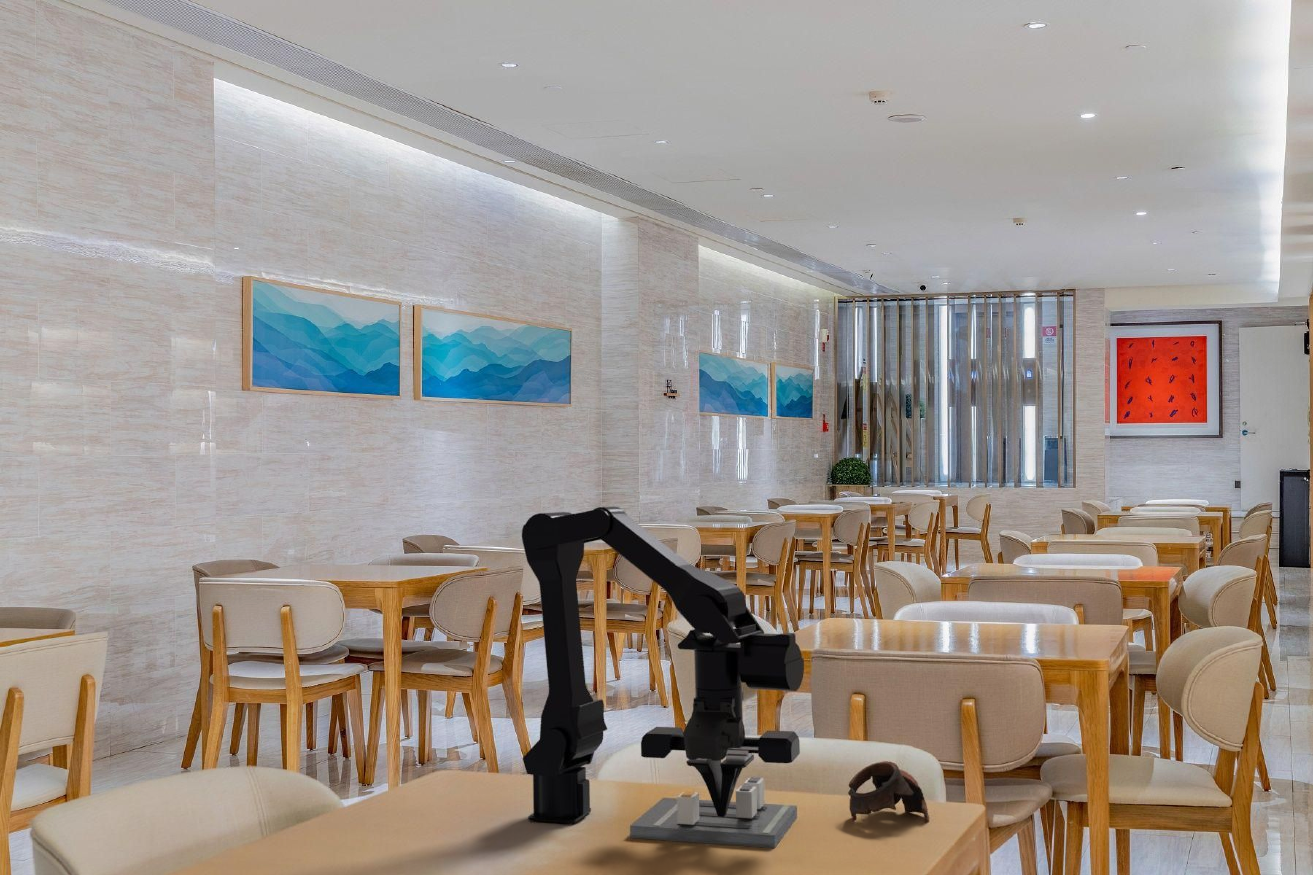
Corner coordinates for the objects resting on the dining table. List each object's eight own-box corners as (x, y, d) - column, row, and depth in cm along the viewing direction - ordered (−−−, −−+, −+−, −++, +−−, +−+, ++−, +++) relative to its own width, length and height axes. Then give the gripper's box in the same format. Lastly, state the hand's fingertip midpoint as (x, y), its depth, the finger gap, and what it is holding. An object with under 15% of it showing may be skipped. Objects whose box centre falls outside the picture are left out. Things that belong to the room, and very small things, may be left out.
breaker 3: (736, 817, 156) (735, 789, 156) (741, 811, 159) (740, 784, 159) (752, 818, 155) (751, 790, 155) (756, 812, 158) (756, 785, 158)
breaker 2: (744, 807, 160) (744, 781, 160) (749, 802, 163) (749, 776, 163) (759, 808, 160) (759, 781, 160) (764, 803, 162) (764, 776, 162)
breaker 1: (677, 823, 154) (677, 795, 154) (683, 817, 156) (683, 789, 156) (693, 824, 153) (692, 796, 153) (699, 818, 156) (698, 790, 156)
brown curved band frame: (940, 833, 156) (911, 779, 155) (872, 864, 157) (842, 811, 156) (925, 785, 168) (897, 734, 166) (861, 814, 169) (833, 764, 168)
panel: (630, 837, 154) (630, 824, 154) (663, 808, 167) (663, 796, 168) (774, 847, 149) (774, 834, 149) (797, 817, 162) (796, 804, 162)
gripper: (625, 695, 149) (628, 829, 148) (780, 699, 143) (784, 838, 143) (653, 681, 160) (656, 805, 159) (798, 684, 154) (802, 813, 153)
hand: (721, 815), depth 153 cm, fingers closed
